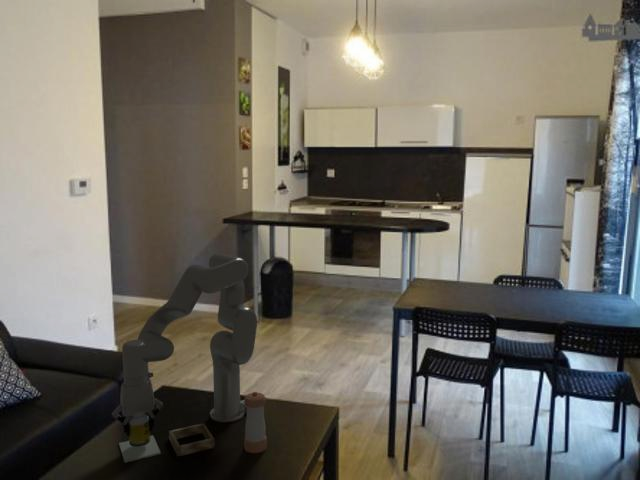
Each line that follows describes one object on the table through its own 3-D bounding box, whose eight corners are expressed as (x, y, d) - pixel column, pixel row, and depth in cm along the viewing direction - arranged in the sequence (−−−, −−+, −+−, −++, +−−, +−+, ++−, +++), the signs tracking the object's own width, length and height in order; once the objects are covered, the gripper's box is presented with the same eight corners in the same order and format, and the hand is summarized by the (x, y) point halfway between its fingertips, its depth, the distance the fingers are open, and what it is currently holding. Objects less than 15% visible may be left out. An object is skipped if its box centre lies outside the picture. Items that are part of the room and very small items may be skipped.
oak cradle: (204, 431, 190) (204, 423, 190) (214, 447, 180) (214, 439, 179) (169, 439, 185) (168, 430, 184) (177, 456, 174) (177, 447, 174)
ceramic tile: (153, 437, 186) (153, 435, 186) (160, 454, 175) (160, 452, 175) (119, 444, 181) (118, 443, 181) (124, 462, 170) (124, 461, 170)
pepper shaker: (248, 455, 175) (248, 398, 172) (241, 444, 181) (240, 390, 178) (270, 449, 178) (269, 394, 175) (261, 439, 185) (261, 385, 182)
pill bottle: (143, 449, 174) (142, 415, 172) (125, 447, 175) (123, 413, 174) (154, 439, 180) (152, 406, 179) (136, 437, 182) (134, 404, 180)
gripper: (161, 370, 182) (163, 420, 185) (106, 379, 174) (109, 432, 177) (166, 378, 175) (168, 430, 178) (109, 388, 167) (112, 443, 170)
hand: (139, 431), depth 177 cm, fingers closed on pill bottle, 6 cm apart
